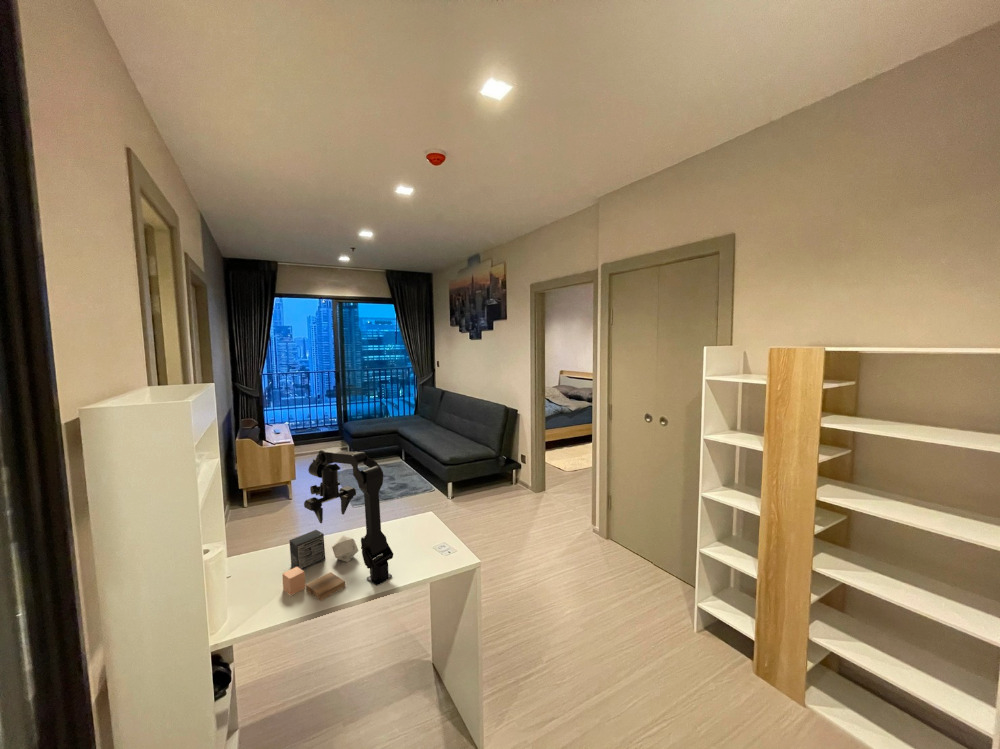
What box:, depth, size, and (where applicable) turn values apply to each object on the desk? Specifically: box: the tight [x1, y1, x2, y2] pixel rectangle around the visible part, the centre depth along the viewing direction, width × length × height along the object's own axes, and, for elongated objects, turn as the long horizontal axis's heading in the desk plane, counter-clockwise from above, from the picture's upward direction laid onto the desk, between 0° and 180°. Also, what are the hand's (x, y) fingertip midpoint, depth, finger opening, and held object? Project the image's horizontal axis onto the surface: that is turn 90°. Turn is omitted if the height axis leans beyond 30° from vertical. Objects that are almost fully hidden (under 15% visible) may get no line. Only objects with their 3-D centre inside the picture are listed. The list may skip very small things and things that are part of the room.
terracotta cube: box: [281, 567, 306, 596], centre depth 137 cm, size 5×5×6 cm
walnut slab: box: [305, 571, 346, 601], centre depth 137 cm, size 9×9×2 cm
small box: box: [289, 529, 327, 571], centre depth 152 cm, size 11×6×10 cm, turn 141°
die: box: [331, 535, 359, 563], centre depth 155 cm, size 8×9×10 cm
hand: (332, 518), depth 157 cm, fingers open, 9 cm apart
